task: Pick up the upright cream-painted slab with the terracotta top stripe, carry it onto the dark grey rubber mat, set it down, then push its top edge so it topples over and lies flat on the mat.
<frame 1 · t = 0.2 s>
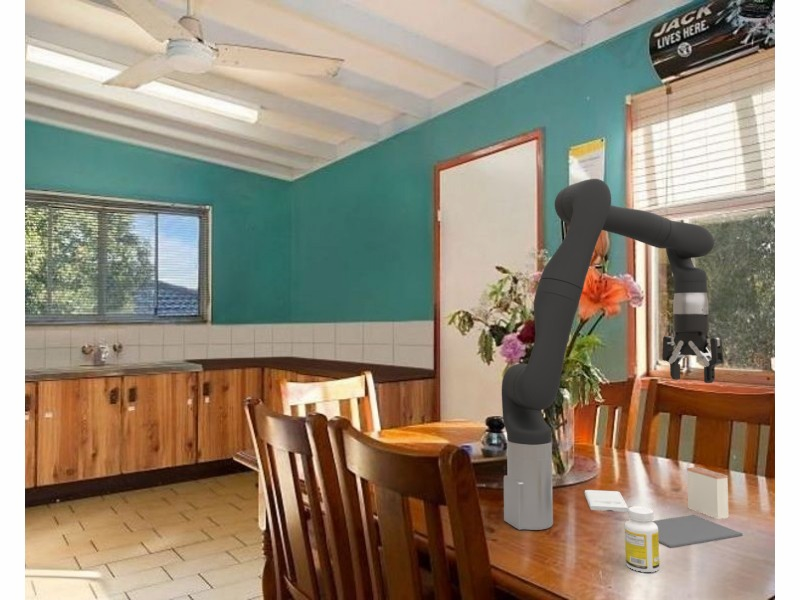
hand: (692, 381, 141), 28 cm above the table, tool pointing down, fingers open, 8 cm apart
mat: (683, 531, 120), on the table
external hard drive: (605, 505, 139), on the table
supplement bottle: (642, 568, 103), on the table
slab: (707, 512, 131), on the table
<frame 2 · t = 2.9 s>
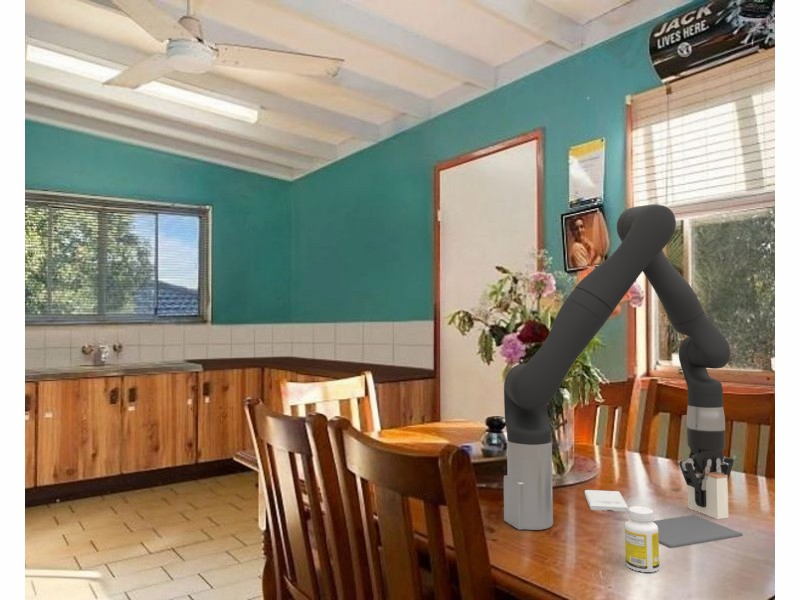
hand: (707, 504, 131), 2 cm above the table, tool pointing down, fingers closed on slab, 3 cm apart
slab: (707, 512, 131), on the table, touching gripper
everything else where it was.
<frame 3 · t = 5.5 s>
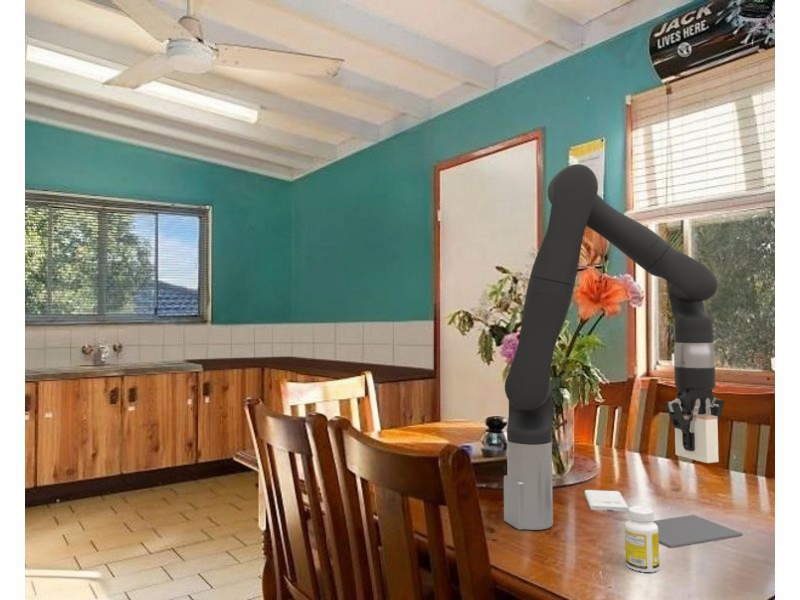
hand: (696, 449, 122), 16 cm above the table, tool pointing down, fingers closed on slab, 3 cm apart
slab: (696, 458, 122), point 14 cm above the table, touching gripper
everything else where it was.
when the fingers open (3 cm above the table, at t = 8.0 s): slab stays where it is, resting on mat.
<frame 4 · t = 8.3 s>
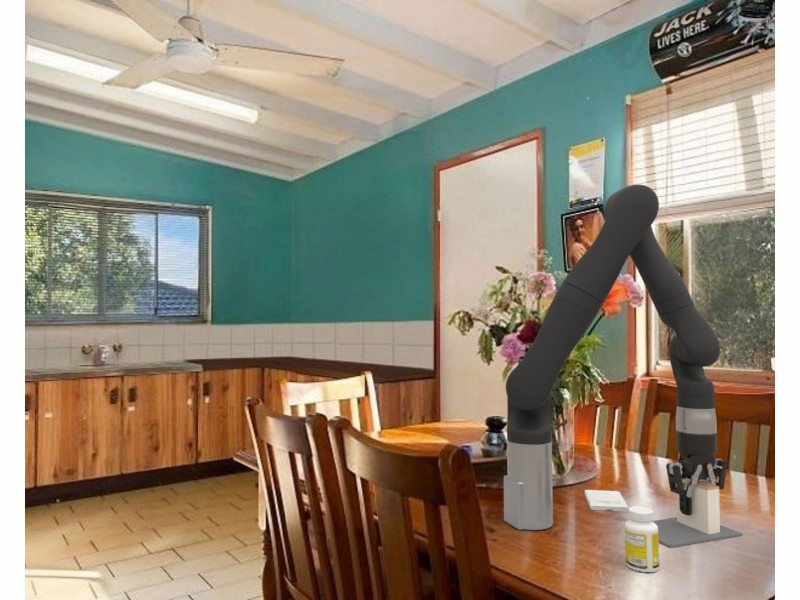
hand: (698, 512, 122), 3 cm above the table, tool pointing down, fingers open, 5 cm apart
slab: (697, 526, 121), resting on mat
everything else where it was.
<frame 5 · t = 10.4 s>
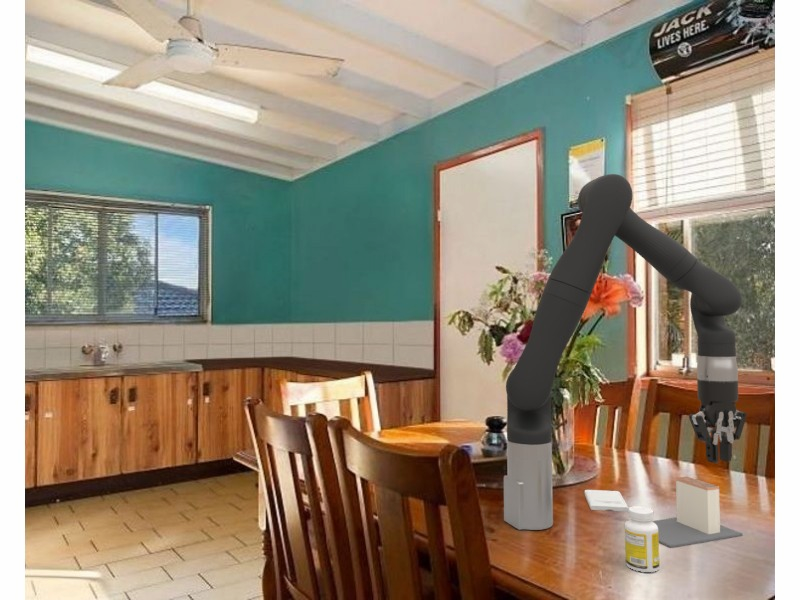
hand: (719, 461, 124), 13 cm above the table, tool pointing down, fingers open, 3 cm apart
nothing on the table moved.
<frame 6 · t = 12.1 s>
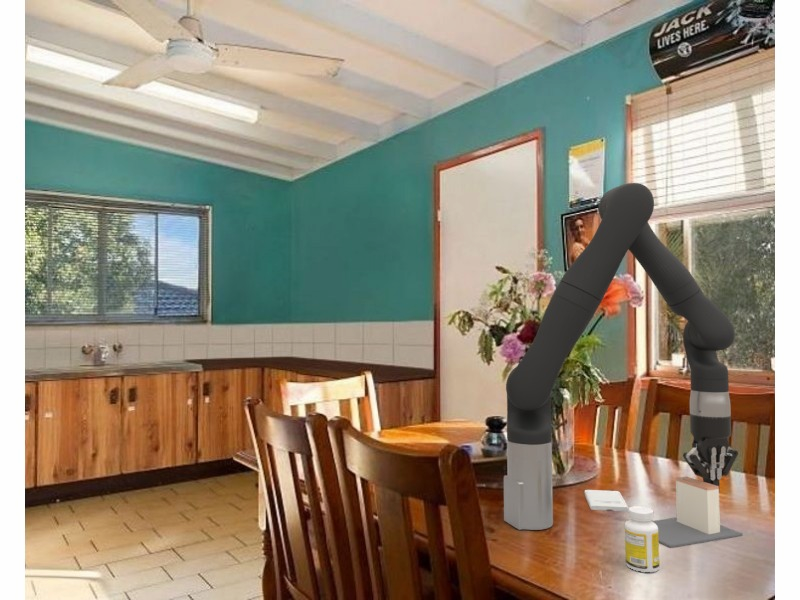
hand: (711, 497, 123), 6 cm above the table, tool pointing down, fingers closed
slab: (697, 526, 121), resting on mat, touching gripper
everything else where it was.
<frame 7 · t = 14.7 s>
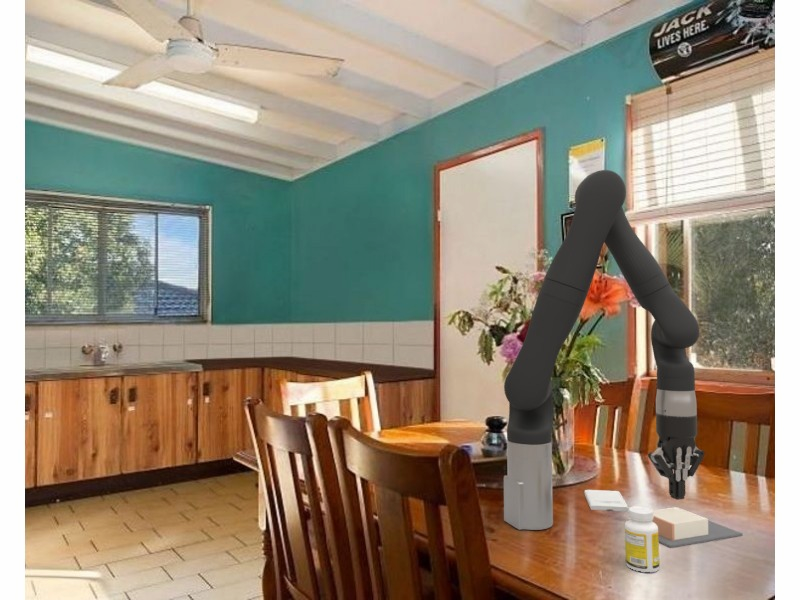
hand: (677, 498, 120), 7 cm above the table, tool pointing down, fingers closed
slab: (691, 520, 121), point 2 cm above the table, tilted 90°, touching mat
everything else where it was.
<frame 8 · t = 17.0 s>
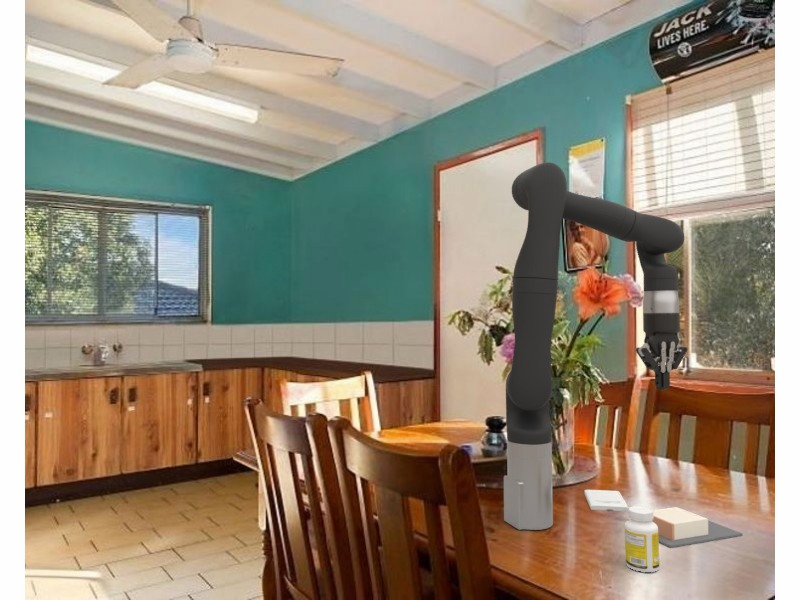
hand: (662, 389, 133), 27 cm above the table, tool pointing down, fingers closed
nothing on the table moved.
at the end: slab tilted 90°; slab inside the target area on the mat (2.3 cm from its centre), point 1.9 cm above the mat's base; the gripper is holding nothing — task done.
